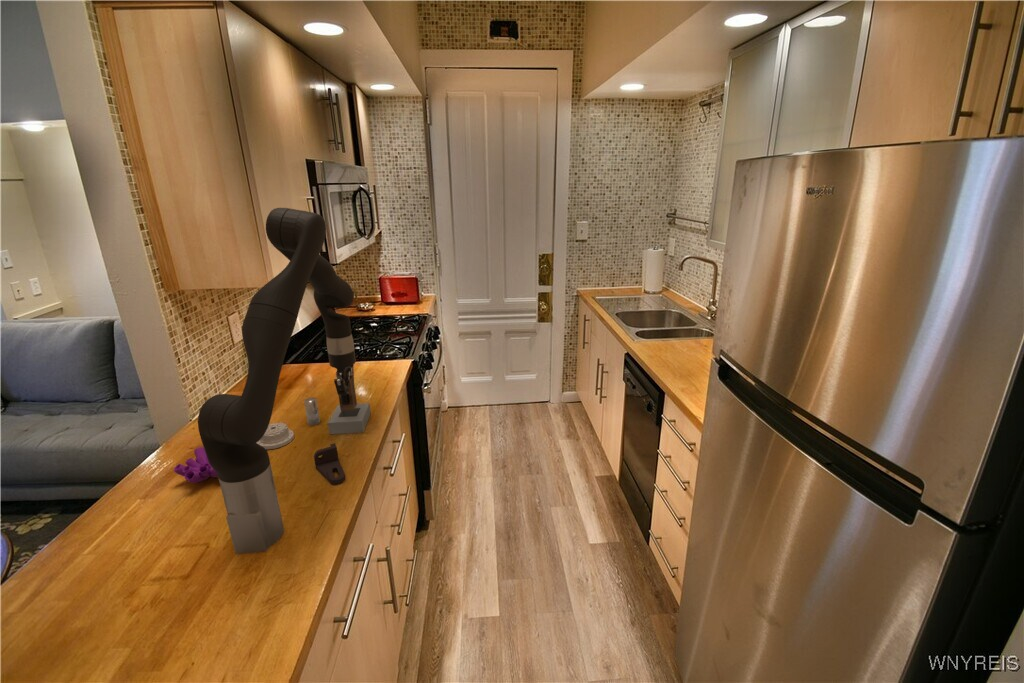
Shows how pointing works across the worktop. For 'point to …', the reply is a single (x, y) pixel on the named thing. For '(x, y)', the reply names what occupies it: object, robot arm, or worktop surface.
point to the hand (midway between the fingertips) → (348, 400)
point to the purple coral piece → (196, 467)
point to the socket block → (349, 419)
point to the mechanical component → (276, 436)
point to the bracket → (329, 464)
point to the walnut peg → (351, 396)
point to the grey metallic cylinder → (312, 411)
